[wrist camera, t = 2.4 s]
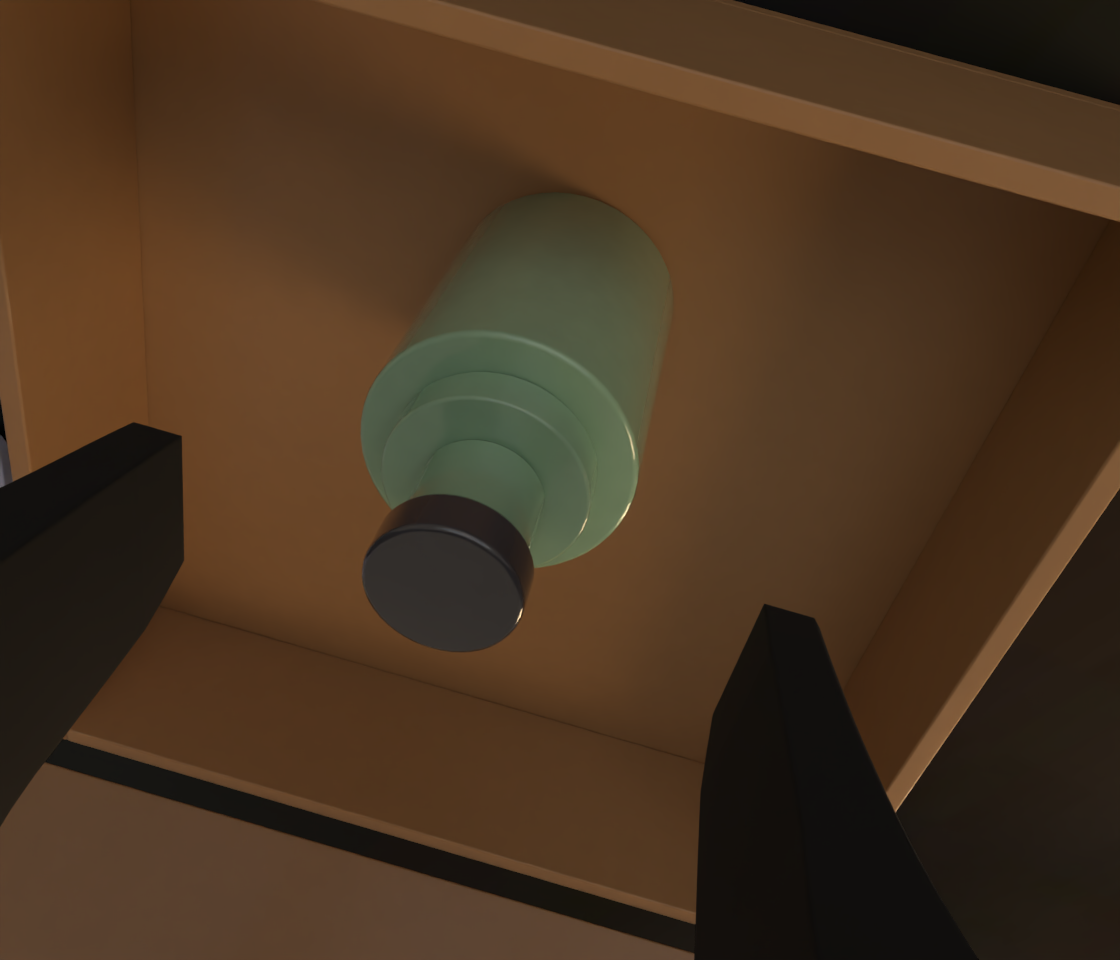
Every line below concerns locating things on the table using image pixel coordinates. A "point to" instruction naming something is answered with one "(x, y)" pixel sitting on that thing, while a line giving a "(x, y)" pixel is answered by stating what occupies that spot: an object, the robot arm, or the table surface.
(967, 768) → the table surface
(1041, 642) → the table surface
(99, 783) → the flap
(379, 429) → the bottle
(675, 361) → the carton
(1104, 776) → the table surface
